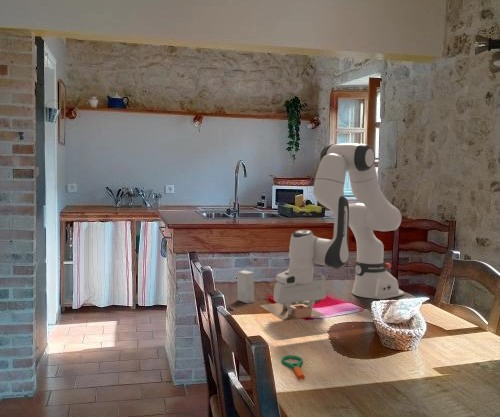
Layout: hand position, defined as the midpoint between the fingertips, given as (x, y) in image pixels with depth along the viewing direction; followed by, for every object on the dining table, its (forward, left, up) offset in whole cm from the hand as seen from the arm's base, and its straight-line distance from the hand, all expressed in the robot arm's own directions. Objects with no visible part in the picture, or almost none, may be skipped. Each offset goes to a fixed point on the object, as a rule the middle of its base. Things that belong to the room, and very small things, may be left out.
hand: (299, 312), depth 193 cm
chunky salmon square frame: (0, 0, -1) cm, 1 cm away
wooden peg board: (0, -7, -2) cm, 7 cm away
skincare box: (+9, -29, -2) cm, 30 cm away
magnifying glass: (+23, +38, -3) cm, 45 cm away
